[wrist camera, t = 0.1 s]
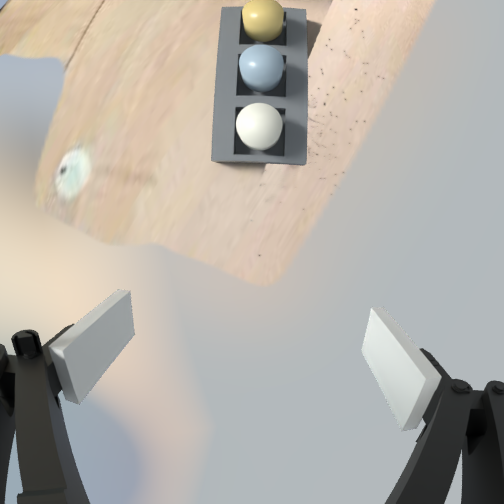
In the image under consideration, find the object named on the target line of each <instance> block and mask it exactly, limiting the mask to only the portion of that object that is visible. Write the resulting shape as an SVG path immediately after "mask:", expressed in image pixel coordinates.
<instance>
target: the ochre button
mask: <svg viewBox="0 0 504 504" xmlns="http://www.w3.org/2000/svg"><path fill="white" fill-rule="evenodd" d="M242 16H243V23H244V29H245V33H246V34H247V36H248V37H250V38H251V39H253V40H255V41H259V42H268V41H272V40H274V39H276V38H277V37H278V36H279V35H280V34H281V32H282V26H283V16H284V11H283V8H282V6H281V5H280V4H279V3H277V2H276V1H274V0H252V1H250V2H248V3H247V4H246V5H245V6H244V7H243V10H242Z"/></svg>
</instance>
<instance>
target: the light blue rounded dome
mask: <svg viewBox="0 0 504 504" xmlns="http://www.w3.org/2000/svg"><path fill="white" fill-rule="evenodd" d="M283 65H284V61H283V57H282V55H281V54H280V52H279V51H278V50H276V49H275V48H273V47H271V46H268V45H254V46H251V47H249V48H247V49H246V50H245V51H244V52H243V53H242V54H241V56H240V59H239V67H240V71H241V76H242V80H243V82H244V84H245V85H246V86H247V87H248V88H249V89H251V90H253V91H256V92H267V91H271V90H273V89H274V88H276V87H277V86H278V85H279V83H280V81H281V78H282V71H283Z"/></svg>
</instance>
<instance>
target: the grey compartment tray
mask: <svg viewBox="0 0 504 504" xmlns="http://www.w3.org/2000/svg"><path fill="white" fill-rule="evenodd" d="M242 10H243V7H222V10H221V20H220V31H219V42H218V53H217V66H216V80H215V95H214V112H213V131H212V155H211V161H214V162H240V163H270V164H289V165H305V164H306V160H307V120H308V57H307V20H306V9H296V8H283V11H284V16H283V26H282V32H281V34H280V35H279V36H278V37H277V38H276V39H274V40H272V41H268V42H259V41H255V40H253V39H251V38H250V37H248V36H247V34H246V33H245V29H244V23H243V16H242ZM254 45H268V46H271V47H273V48H275V49H276V50H278V51H279V52H280V54H281V55H282V57H283V61H284V65H283V71H282V78H281V81H280V83H279V85H278V86H277V87H276V88H274V89H273V90H271V91H267V92H256V91H253V90H251V89H249V88H248V87H247V86H246V85H245V84H244V82H243V80H242V76H241V71H240V67H239V59H240V56H241V54H242V53H243V52H244V51H245V50H246V49H247V48H249V47H251V46H254ZM254 103H265V104H268V105H270V106H272V107H273V108H275V109H276V110H277V111H278V113H279V114H280V116H281V119H282V131H281V134H280V137H279V139H278V141H277V143H276V144H275V145H274V146H273V147H271V148H269V149H267V150H262V151H257V150H253V149H250V148H249V147H247V146H246V145H245V144H244V143H243V142H242V140H241V138H240V136H239V134H238V132H237V129H236V120H237V117H238V115H239V113H240V112H241V110H242V109H244V108H245V107H246V106H248V105H250V104H254Z"/></svg>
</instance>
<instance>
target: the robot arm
mask: <svg viewBox="0 0 504 504" xmlns="http://www.w3.org/2000/svg"><path fill="white" fill-rule="evenodd" d="M134 335H135V333H134V324H133V315H132V305H131V293H130V291H128V290H120V289H118V290H117V291H116V292H114V293H113V294H112V295H111V296H109V297H108V298H107V299H106V300H104V301H103V302H102V303H100V304H99V305H98V306H97V307H95V308H94V309H93V310H92V311H90V312H89V313H88V314H87V315H85V316H84V317H83V318H82V319H81V320H80V321H78V322H77V323H76V324H72V325H70V326H67V327H65V328H64V329H63V330H61V331H60V332H59V333H58V334H56V335H55V337H53V338H52V339H50V340H49V341H48V342H47V343H46V344H44V345H43V346H41V342H40V338H39V335H38V333H37V332H36V331H34V330H23V331H19V332H17V333H15V334H14V335H13V336H12V338H11V340H12V343H13V347H14V350H15V353H16V356H15V355H8V354H7V351H6V349H5V346H4V345H2V344H0V504H5V491H6V481H7V474H8V466H9V460H10V454H11V449H12V443H13V438H14V434H15V429H16V442H17V452H18V461H19V468H20V475H21V480H22V487H23V493H21V494H18V495H17V504H90V502H89V499H88V497H87V494H86V492H85V489H84V486H83V484H82V481H81V478H80V475H79V472H78V469H77V466H76V463H75V460H74V456H73V454H72V450H71V446H70V442H69V439H68V435H67V431H66V427H65V422H64V418H63V414H62V409H61V404H60V399H59V397H58V393H59V392H60V391H61V390H62V391H63V394H64V396H65V399H66V400H68V401H70V402H73V403H76V404H79V405H80V404H81V402H82V401H83V400H84V398H85V397H86V396H87V394H88V393H89V392H90V391H91V389H92V388H93V387H94V385H95V384H96V382H97V381H98V380H99V379H100V378H101V376H102V375H103V374H104V372H105V371H106V370H107V369H108V367H109V366H110V365H111V363H112V362H113V361H114V360H115V359H116V357H117V356H118V355H119V354H120V352H121V351H122V350H123V349H124V347H125V346H126V345H127V344H128V342H129V341H130V340H131V339H132V337H133V336H134ZM361 351H362V353H363V355H364V357H365V359H366V361H367V363H368V365H369V367H370V369H371V370H372V372H373V374H374V376H375V378H376V380H377V382H378V384H379V386H380V388H381V390H382V392H383V394H384V396H385V397H386V400H387V402H388V404H389V406H390V408H391V410H392V412H393V414H394V416H395V418H396V421H397V423H398V425H399V427H400V429H401V431H406V430H411V429H416V428H417V427H418V425H419V423H420V421H421V420H422V418H423V420H424V422H425V423H426V425H425V427H424V428H423V430H422V432H421V434H420V435H419V437H418V439H417V440H416V442H417V444H416V446H415V448H414V451H413V453H412V455H411V457H410V459H409V461H408V463H407V465H406V467H405V469H404V471H403V472H402V474H401V476H400V478H399V480H398V482H397V484H396V485H395V487H394V489H393V491H392V492H391V494H390V496H389V497H388V499H387V501H386V503H385V504H444V502H445V500H446V497H447V494H448V492H449V489H450V486H451V483H452V480H453V477H454V474H455V471H456V468H457V464H458V461H459V457H460V454H461V450H462V498H461V504H504V383H502V382H500V381H490V382H488V384H487V385H486V387H485V389H484V391H478V390H473V389H472V387H471V386H470V385H469V384H468V383H467V382H465V381H463V380H459V379H451V377H450V376H449V375H448V374H447V373H446V371H445V370H444V369H443V368H442V366H440V364H439V363H438V362H437V361H436V360H435V358H434V357H433V356H432V355H431V354H430V353H429V352H427V351H426V350H424V349H423V348H422V349H419V348H418V347H417V346H416V345H415V343H414V342H413V341H412V340H411V339H410V337H409V336H408V335H407V334H406V333H405V332H404V330H403V329H402V328H401V327H400V326H399V325H398V323H397V322H396V321H395V320H394V319H393V318H392V317H391V316H390V314H389V313H388V312H387V311H386V310H385V309H384V308H371V312H370V317H369V321H368V326H367V330H366V334H365V339H364V342H363V346H362V350H361Z"/></svg>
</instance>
